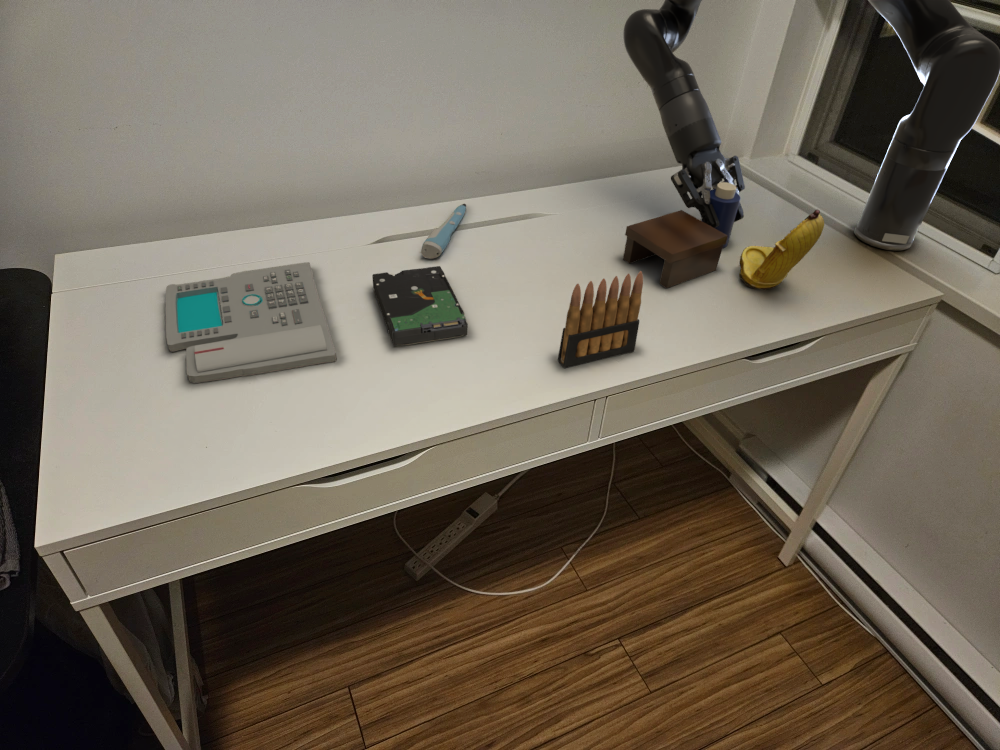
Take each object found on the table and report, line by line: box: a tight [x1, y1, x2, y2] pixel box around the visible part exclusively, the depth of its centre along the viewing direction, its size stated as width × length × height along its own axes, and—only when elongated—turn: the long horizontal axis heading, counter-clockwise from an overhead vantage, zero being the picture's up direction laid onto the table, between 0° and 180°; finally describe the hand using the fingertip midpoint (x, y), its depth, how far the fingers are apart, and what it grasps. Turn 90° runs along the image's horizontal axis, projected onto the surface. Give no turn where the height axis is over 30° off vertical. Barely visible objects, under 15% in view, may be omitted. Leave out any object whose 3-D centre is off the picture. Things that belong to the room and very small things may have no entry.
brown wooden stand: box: [622, 209, 728, 289], centre depth 109 cm, size 12×10×6 cm
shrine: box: [738, 209, 825, 291], centre depth 103 cm, size 12×8×15 cm
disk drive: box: [371, 265, 469, 347], centre depth 96 cm, size 10×3×15 cm
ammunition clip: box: [557, 270, 644, 369], centre depth 88 cm, size 11×2×12 cm, turn 113°
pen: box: [420, 203, 467, 259], centre depth 115 cm, size 19×3×3 cm, turn 166°
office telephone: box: [165, 261, 338, 384], centre depth 92 cm, size 23×3×20 cm
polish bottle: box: [700, 181, 742, 250], centre depth 114 cm, size 5×5×10 cm
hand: (726, 223), depth 114 cm, fingers closed on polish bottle, 5 cm apart
